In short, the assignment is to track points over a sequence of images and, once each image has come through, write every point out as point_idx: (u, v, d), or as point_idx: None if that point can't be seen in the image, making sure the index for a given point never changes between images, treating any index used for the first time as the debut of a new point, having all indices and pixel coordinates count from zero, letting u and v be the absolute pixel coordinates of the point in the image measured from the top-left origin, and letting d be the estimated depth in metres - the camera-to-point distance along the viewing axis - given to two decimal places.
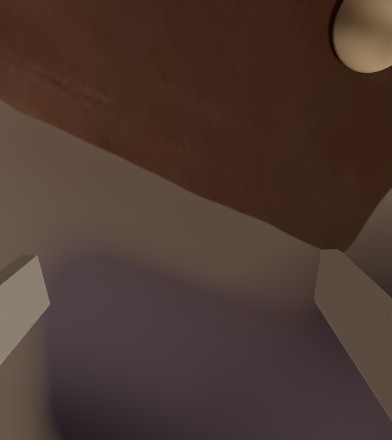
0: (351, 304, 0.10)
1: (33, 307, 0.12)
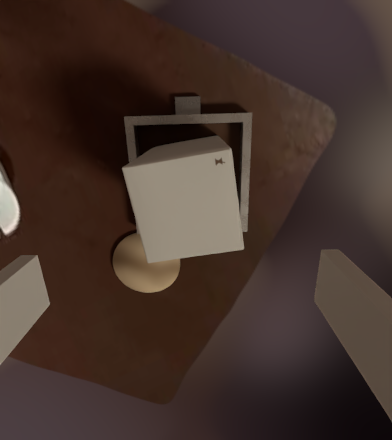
0: (351, 304, 0.10)
1: (33, 307, 0.12)
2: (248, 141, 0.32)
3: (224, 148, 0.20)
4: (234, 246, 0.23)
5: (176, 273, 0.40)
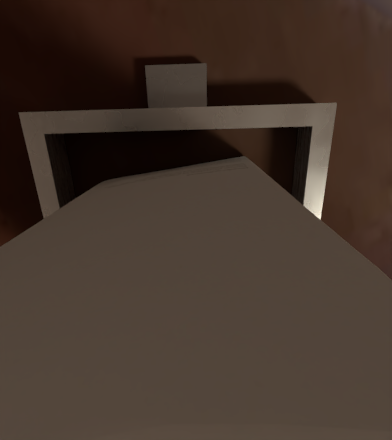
0: None
1: None
2: (321, 172, 0.14)
3: None
4: None
5: None
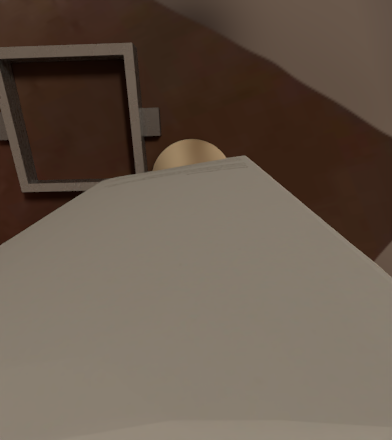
0: None
1: None
2: (16, 50, 0.27)
3: None
4: None
5: (205, 144, 0.31)
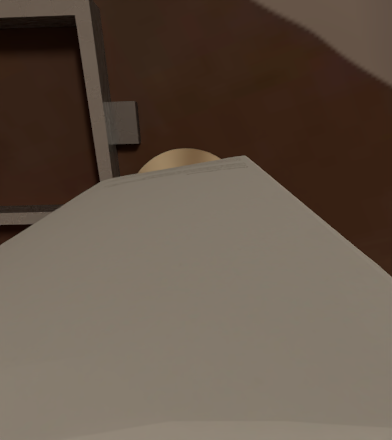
0: None
1: None
2: None
3: None
4: None
5: (205, 155, 0.21)
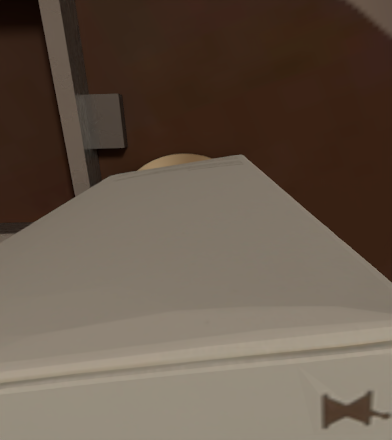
0: None
1: None
2: None
3: None
4: None
5: None
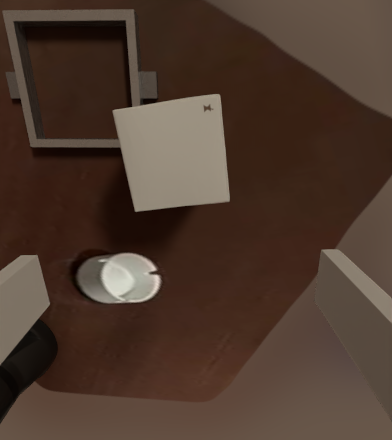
0: (351, 304, 0.10)
1: (33, 307, 0.12)
2: (30, 13, 0.30)
3: (213, 95, 0.21)
4: (220, 197, 0.23)
5: None
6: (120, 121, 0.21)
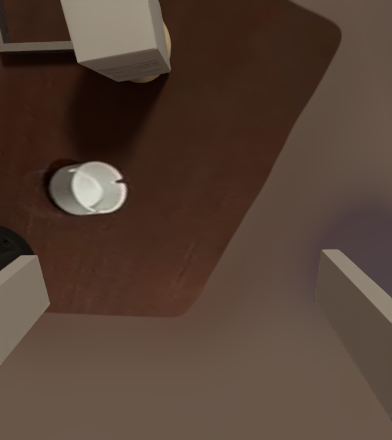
0: (351, 304, 0.10)
1: (33, 307, 0.12)
2: None
3: None
4: (148, 44, 0.28)
5: None
6: None
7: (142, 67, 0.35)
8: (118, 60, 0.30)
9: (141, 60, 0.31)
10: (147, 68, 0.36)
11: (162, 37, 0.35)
